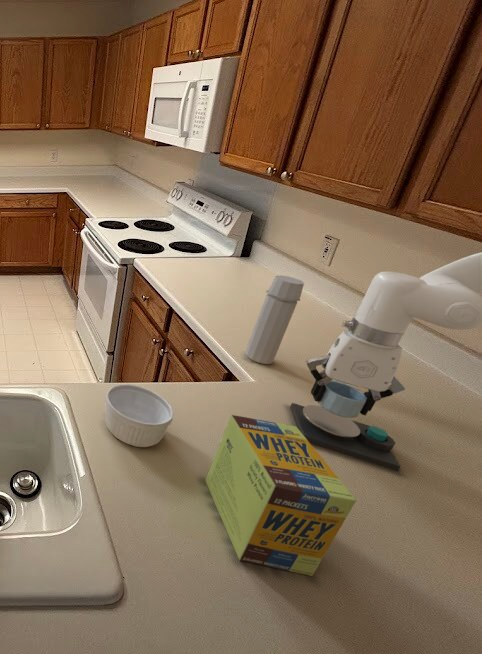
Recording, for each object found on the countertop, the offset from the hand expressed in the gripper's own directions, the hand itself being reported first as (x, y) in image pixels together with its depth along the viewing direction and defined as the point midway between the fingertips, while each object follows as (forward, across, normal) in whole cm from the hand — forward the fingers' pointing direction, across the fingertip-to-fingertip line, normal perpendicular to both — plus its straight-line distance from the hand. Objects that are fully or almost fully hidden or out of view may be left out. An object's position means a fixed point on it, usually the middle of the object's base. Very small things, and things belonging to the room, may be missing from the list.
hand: (337, 404), depth 88 cm
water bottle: (+8, -9, +30) cm, 33 cm away
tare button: (+5, +8, 0) cm, 10 cm away
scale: (+8, +3, 0) cm, 8 cm away
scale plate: (+5, 0, 0) cm, 5 cm away
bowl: (+1, 0, 0) cm, 1 cm away
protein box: (+8, -17, -36) cm, 41 cm away
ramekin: (+8, -38, -23) cm, 45 cm away
